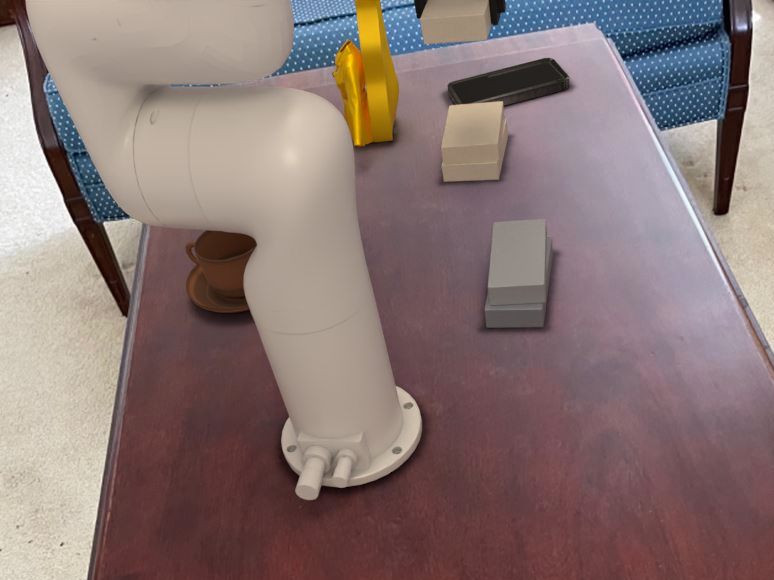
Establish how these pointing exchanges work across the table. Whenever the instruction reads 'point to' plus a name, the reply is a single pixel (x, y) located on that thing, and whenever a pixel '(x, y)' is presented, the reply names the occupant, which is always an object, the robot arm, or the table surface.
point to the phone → (510, 83)
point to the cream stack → (474, 142)
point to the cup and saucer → (219, 270)
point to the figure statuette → (368, 78)
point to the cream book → (455, 21)
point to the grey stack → (518, 274)
